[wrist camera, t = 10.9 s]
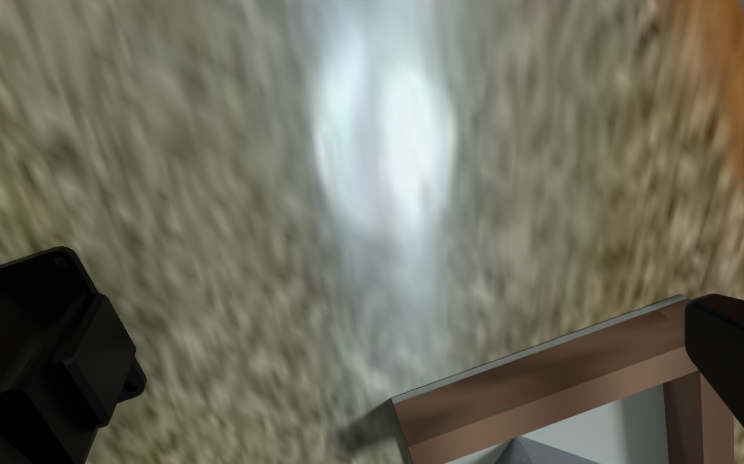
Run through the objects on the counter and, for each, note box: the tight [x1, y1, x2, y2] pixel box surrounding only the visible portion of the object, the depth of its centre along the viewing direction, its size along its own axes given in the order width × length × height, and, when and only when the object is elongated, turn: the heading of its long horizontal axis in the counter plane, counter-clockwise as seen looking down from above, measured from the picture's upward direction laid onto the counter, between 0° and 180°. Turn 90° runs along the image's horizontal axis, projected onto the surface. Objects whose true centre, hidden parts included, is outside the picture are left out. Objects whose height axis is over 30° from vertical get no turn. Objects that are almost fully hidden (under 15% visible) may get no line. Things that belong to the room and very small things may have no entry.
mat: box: [391, 294, 687, 464], centre depth 28 cm, size 14×14×1 cm
